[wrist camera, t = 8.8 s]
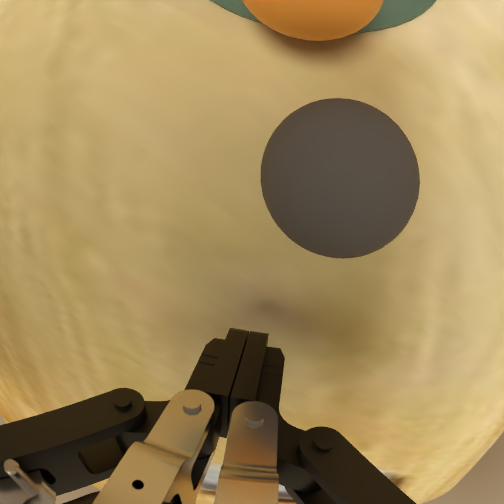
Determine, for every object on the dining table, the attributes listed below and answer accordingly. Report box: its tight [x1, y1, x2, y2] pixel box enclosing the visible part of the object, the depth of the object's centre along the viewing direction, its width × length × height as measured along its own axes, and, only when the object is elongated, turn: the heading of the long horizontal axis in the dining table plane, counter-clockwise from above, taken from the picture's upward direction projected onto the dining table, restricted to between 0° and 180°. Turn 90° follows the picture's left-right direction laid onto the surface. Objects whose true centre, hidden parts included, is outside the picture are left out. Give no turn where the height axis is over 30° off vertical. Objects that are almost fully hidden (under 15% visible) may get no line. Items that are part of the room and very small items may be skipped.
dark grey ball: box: [261, 98, 420, 258], centre depth 10 cm, size 6×6×6 cm
